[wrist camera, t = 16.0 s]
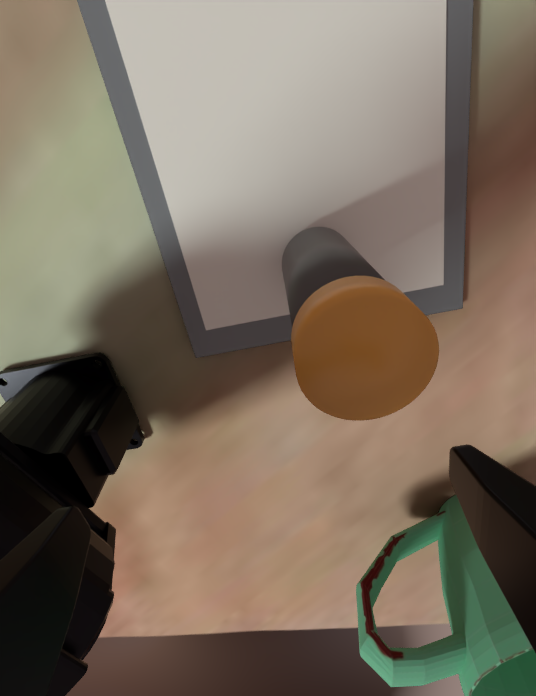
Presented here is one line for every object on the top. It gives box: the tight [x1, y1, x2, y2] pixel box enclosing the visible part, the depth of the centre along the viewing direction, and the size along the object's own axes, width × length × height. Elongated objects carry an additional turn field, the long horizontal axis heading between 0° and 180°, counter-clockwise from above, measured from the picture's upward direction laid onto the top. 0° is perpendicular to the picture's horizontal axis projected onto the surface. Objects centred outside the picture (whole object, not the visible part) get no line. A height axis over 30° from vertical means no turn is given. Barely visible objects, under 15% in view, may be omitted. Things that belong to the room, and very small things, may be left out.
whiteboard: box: [77, 0, 473, 358], centre depth 16 cm, size 14×18×2 cm
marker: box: [282, 227, 439, 420], centre depth 14 cm, size 3×3×10 cm
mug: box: [356, 495, 536, 696], centre depth 23 cm, size 15×10×10 cm
